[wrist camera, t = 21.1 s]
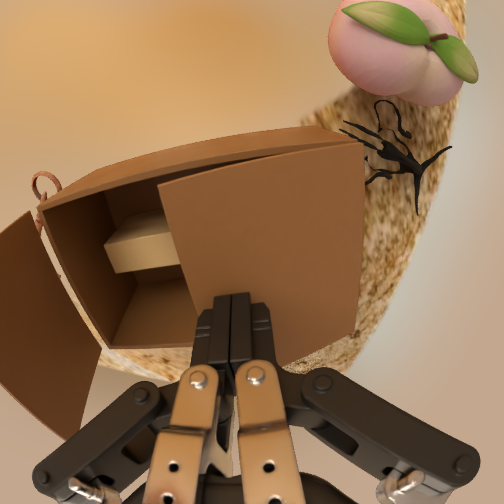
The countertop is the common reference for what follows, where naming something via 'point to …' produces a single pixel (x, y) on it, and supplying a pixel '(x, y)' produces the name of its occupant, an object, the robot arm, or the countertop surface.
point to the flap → (277, 240)
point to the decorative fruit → (400, 50)
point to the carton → (104, 274)
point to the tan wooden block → (142, 243)
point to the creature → (396, 154)
